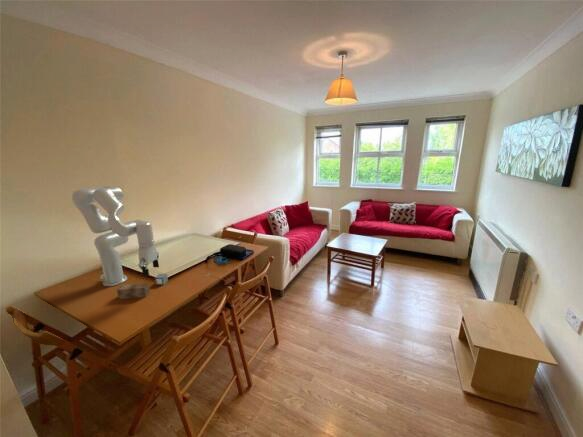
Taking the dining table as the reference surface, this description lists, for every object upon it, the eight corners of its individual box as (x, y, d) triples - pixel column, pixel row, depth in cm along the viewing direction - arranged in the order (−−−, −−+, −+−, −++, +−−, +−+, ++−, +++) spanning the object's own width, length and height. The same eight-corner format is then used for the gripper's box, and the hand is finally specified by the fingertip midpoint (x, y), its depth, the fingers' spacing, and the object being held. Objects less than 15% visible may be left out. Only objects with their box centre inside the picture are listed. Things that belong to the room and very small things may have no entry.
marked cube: (155, 285, 147) (154, 277, 146) (160, 280, 152) (159, 273, 151) (163, 285, 147) (162, 277, 146) (168, 280, 152) (167, 273, 151)
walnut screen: (119, 299, 133) (116, 289, 131) (123, 294, 138) (121, 285, 136) (146, 297, 135) (144, 287, 134) (149, 292, 140) (148, 283, 138)
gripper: (149, 238, 143) (153, 264, 147) (129, 249, 126) (135, 278, 131) (161, 238, 142) (165, 264, 147) (143, 249, 126) (148, 278, 130)
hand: (151, 271), depth 139 cm, fingers open, 9 cm apart
